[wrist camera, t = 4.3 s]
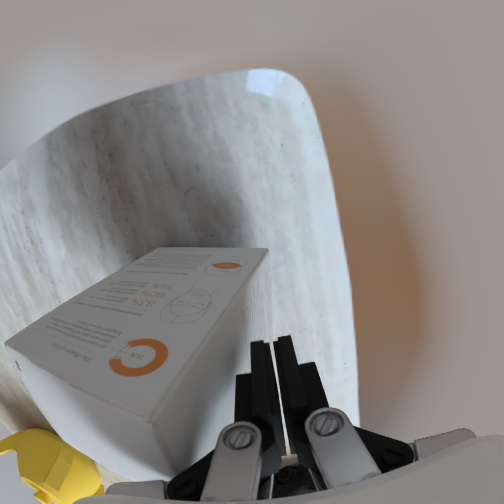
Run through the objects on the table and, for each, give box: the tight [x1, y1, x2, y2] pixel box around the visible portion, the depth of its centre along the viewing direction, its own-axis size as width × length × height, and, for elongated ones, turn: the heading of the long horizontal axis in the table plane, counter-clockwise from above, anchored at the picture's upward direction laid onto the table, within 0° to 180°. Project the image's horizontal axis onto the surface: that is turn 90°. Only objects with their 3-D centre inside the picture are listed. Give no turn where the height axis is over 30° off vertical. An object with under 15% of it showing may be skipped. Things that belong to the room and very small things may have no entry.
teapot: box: [0, 428, 105, 504], centre depth 23 cm, size 17×17×12 cm
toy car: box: [271, 467, 317, 499], centre depth 27 cm, size 8×17×5 cm, turn 136°
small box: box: [4, 247, 273, 482], centre depth 13 cm, size 8×6×13 cm
